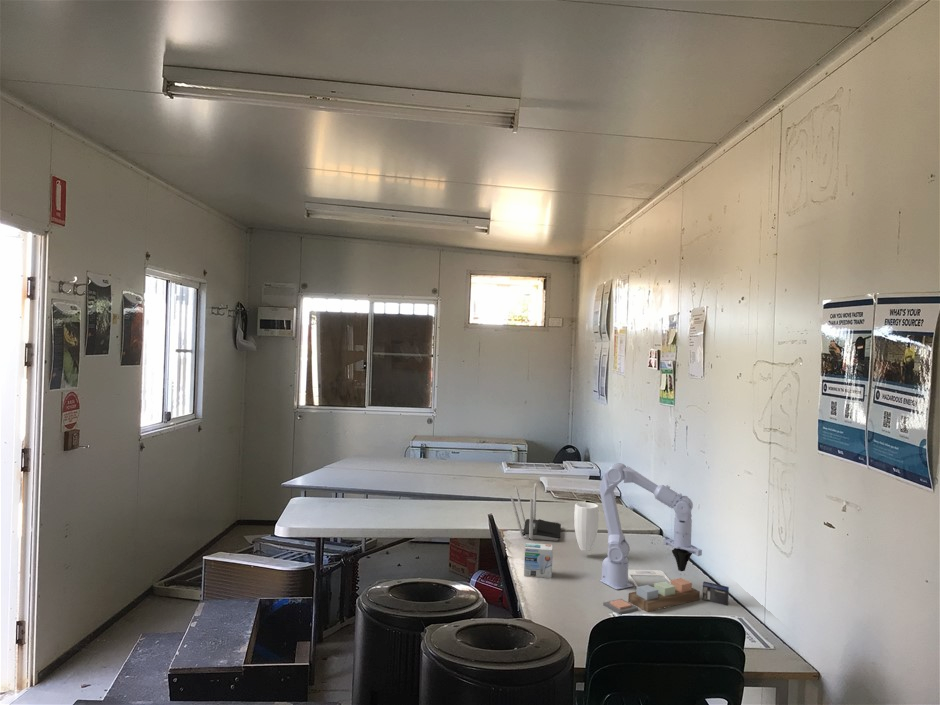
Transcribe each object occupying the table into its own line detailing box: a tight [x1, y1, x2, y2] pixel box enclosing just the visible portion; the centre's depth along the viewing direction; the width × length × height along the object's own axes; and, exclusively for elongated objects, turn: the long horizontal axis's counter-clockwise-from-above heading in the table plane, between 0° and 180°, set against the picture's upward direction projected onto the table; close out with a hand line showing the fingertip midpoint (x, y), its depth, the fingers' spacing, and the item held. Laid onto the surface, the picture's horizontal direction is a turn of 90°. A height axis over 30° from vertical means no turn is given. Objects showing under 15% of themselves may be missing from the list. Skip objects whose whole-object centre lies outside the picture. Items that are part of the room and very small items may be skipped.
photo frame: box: [628, 569, 671, 589], centre depth 232 cm, size 15×1×18 cm
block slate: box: [636, 584, 658, 600], centre depth 208 cm, size 5×5×4 cm
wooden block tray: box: [627, 587, 701, 613], centre depth 212 cm, size 9×24×3 cm, turn 118°
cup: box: [573, 501, 600, 552], centre depth 256 cm, size 10×10×22 cm
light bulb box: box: [523, 542, 554, 579], centre depth 234 cm, size 11×7×11 cm, turn 82°
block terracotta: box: [670, 577, 693, 593], centre depth 216 cm, size 5×5×4 cm
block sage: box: [653, 580, 675, 596], centre depth 212 cm, size 5×5×4 cm
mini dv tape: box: [701, 581, 730, 606], centre depth 212 cm, size 8×2×6 cm, turn 56°
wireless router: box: [509, 482, 562, 542], centre depth 287 cm, size 34×23×20 cm
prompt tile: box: [602, 598, 639, 615], centre depth 205 cm, size 8×8×1 cm
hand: (681, 570), depth 216 cm, fingers closed
